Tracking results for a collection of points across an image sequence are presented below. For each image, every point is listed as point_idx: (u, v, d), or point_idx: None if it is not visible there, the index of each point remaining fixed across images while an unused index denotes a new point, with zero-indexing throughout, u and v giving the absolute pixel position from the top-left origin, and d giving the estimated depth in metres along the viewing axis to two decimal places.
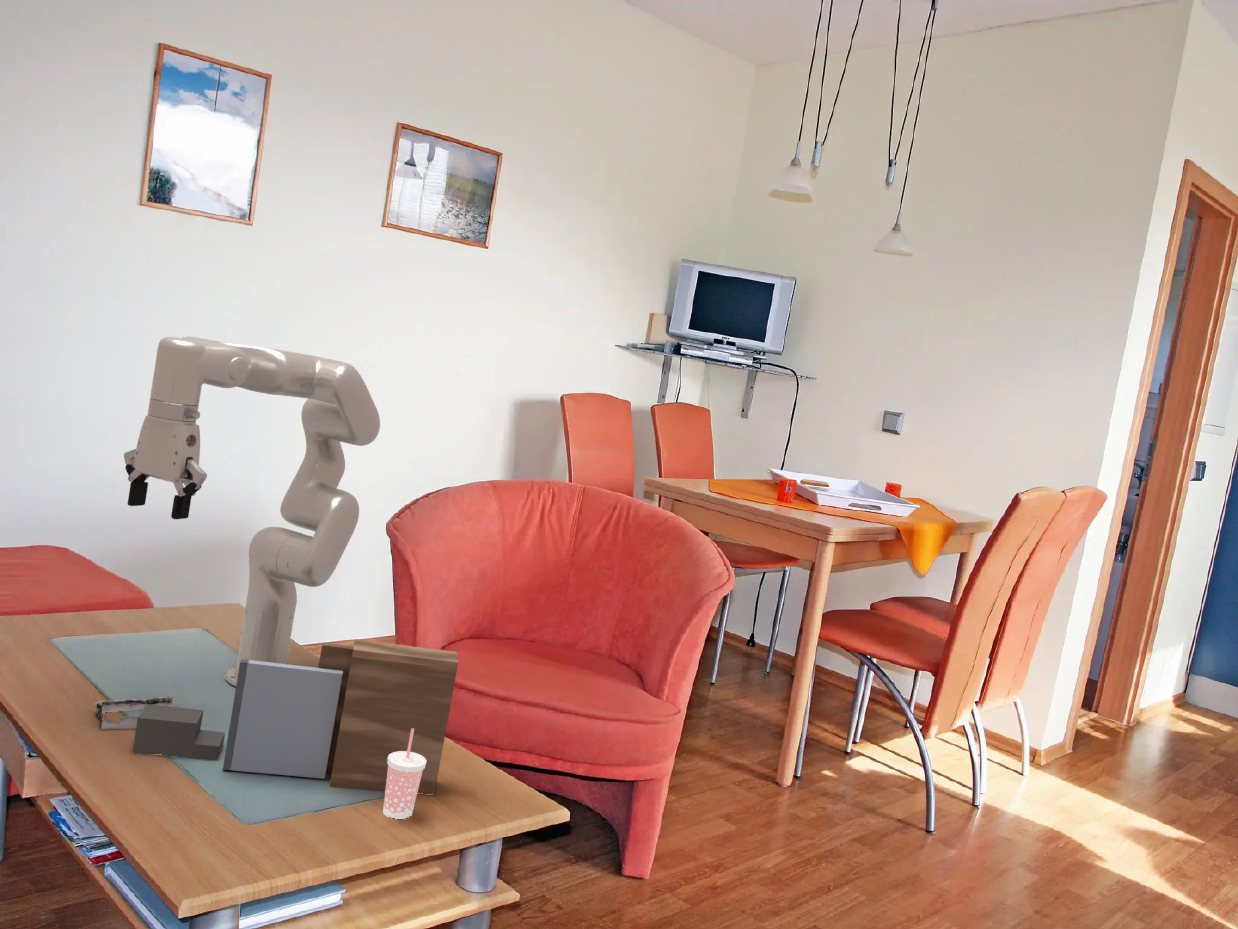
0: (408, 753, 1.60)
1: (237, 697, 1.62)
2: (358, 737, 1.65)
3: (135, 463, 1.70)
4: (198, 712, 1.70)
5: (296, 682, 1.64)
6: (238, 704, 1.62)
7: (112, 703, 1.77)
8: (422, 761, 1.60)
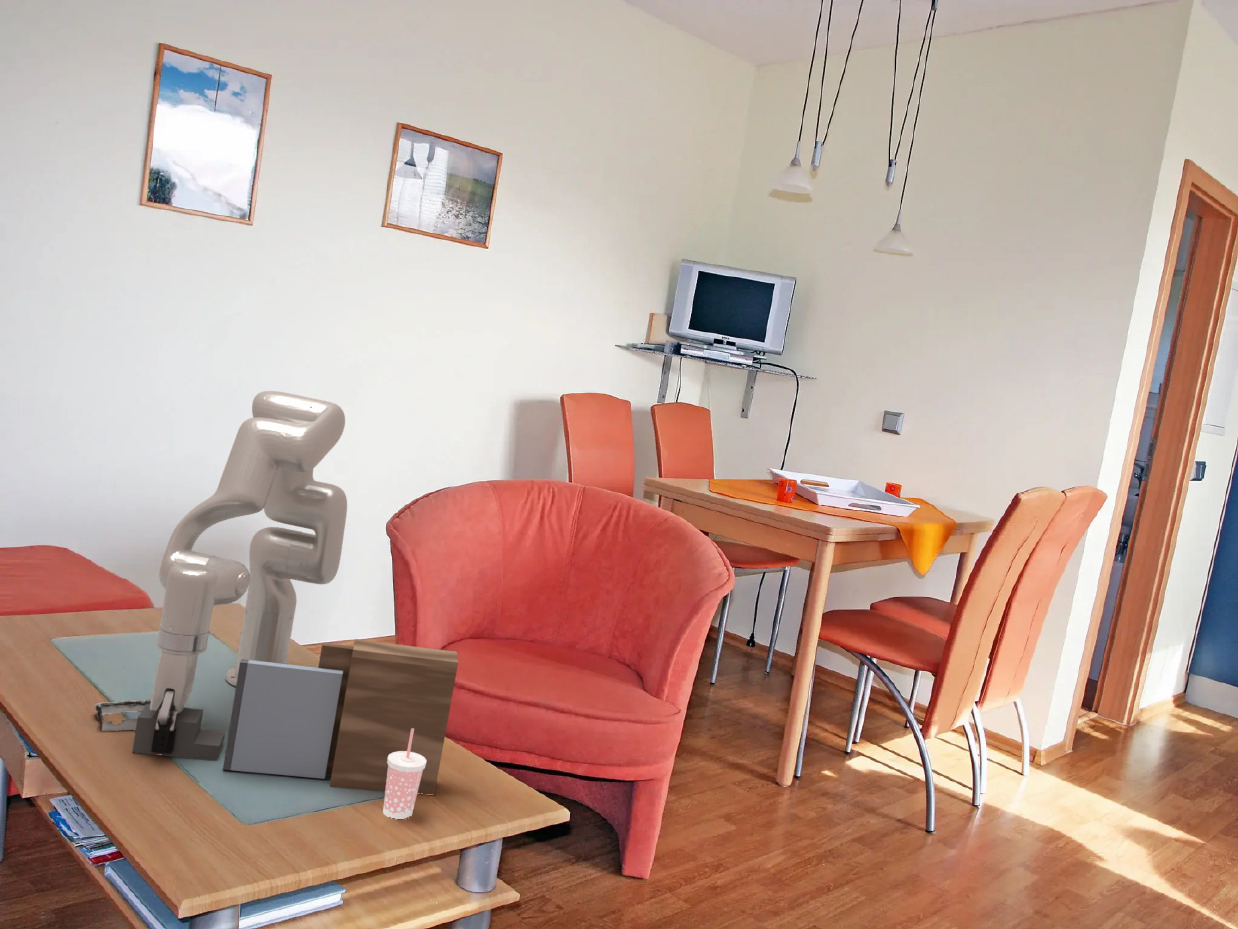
0: (408, 753, 1.60)
1: (237, 697, 1.62)
2: (358, 737, 1.65)
3: (181, 706, 1.63)
4: (198, 712, 1.69)
5: (296, 682, 1.64)
6: (238, 704, 1.62)
7: (111, 705, 1.76)
8: (422, 761, 1.60)
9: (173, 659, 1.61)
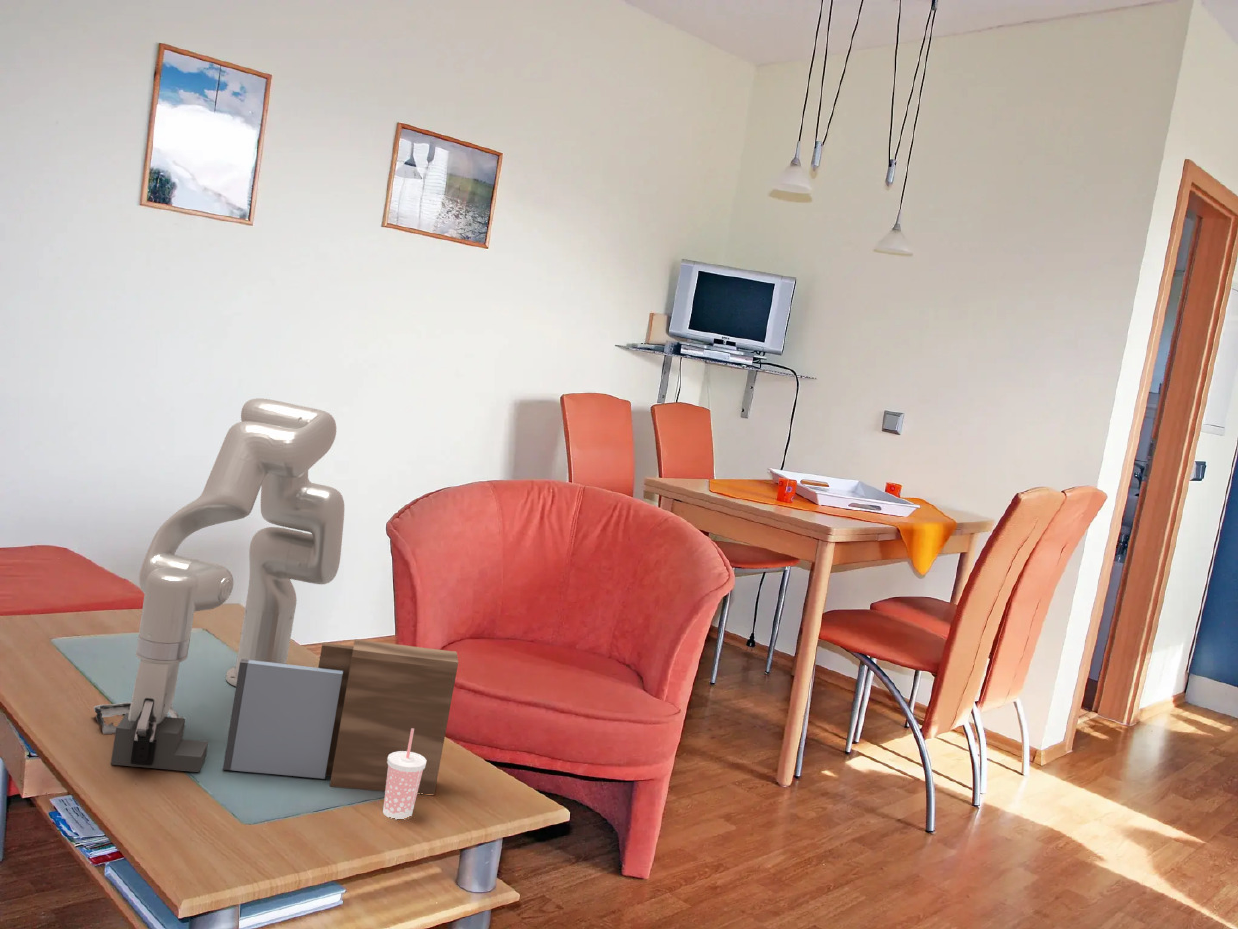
0: (408, 753, 1.60)
1: (237, 697, 1.62)
2: (358, 737, 1.65)
3: (161, 717, 1.57)
4: (180, 721, 1.64)
5: (296, 682, 1.64)
6: (238, 704, 1.62)
7: (110, 707, 1.75)
8: (422, 761, 1.60)
9: (152, 668, 1.55)
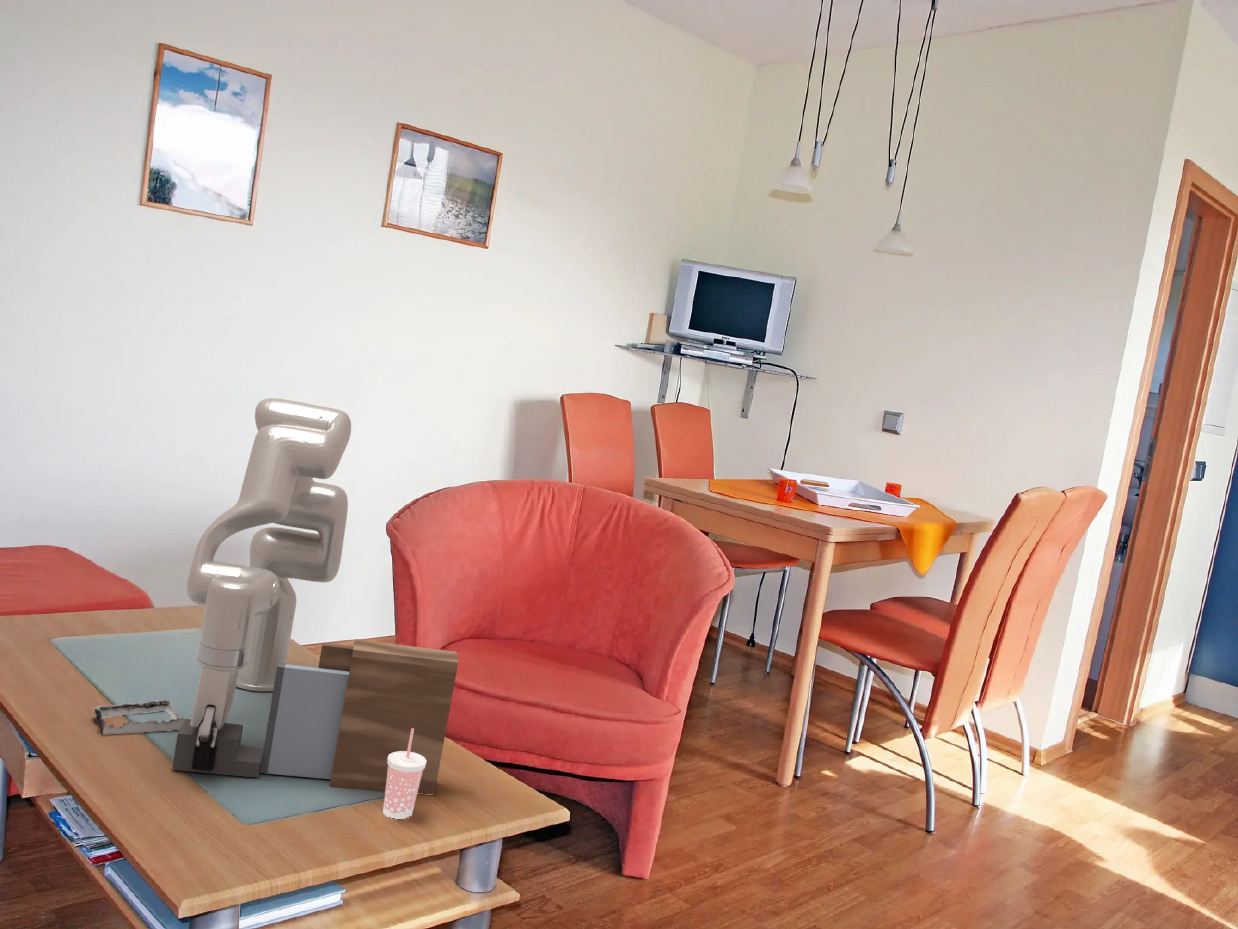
0: (408, 753, 1.60)
1: (274, 701, 1.63)
2: (358, 737, 1.65)
3: (222, 723, 1.59)
4: (238, 727, 1.66)
5: (332, 686, 1.65)
6: (275, 708, 1.64)
7: (110, 708, 1.75)
8: (422, 761, 1.60)
9: (214, 674, 1.58)
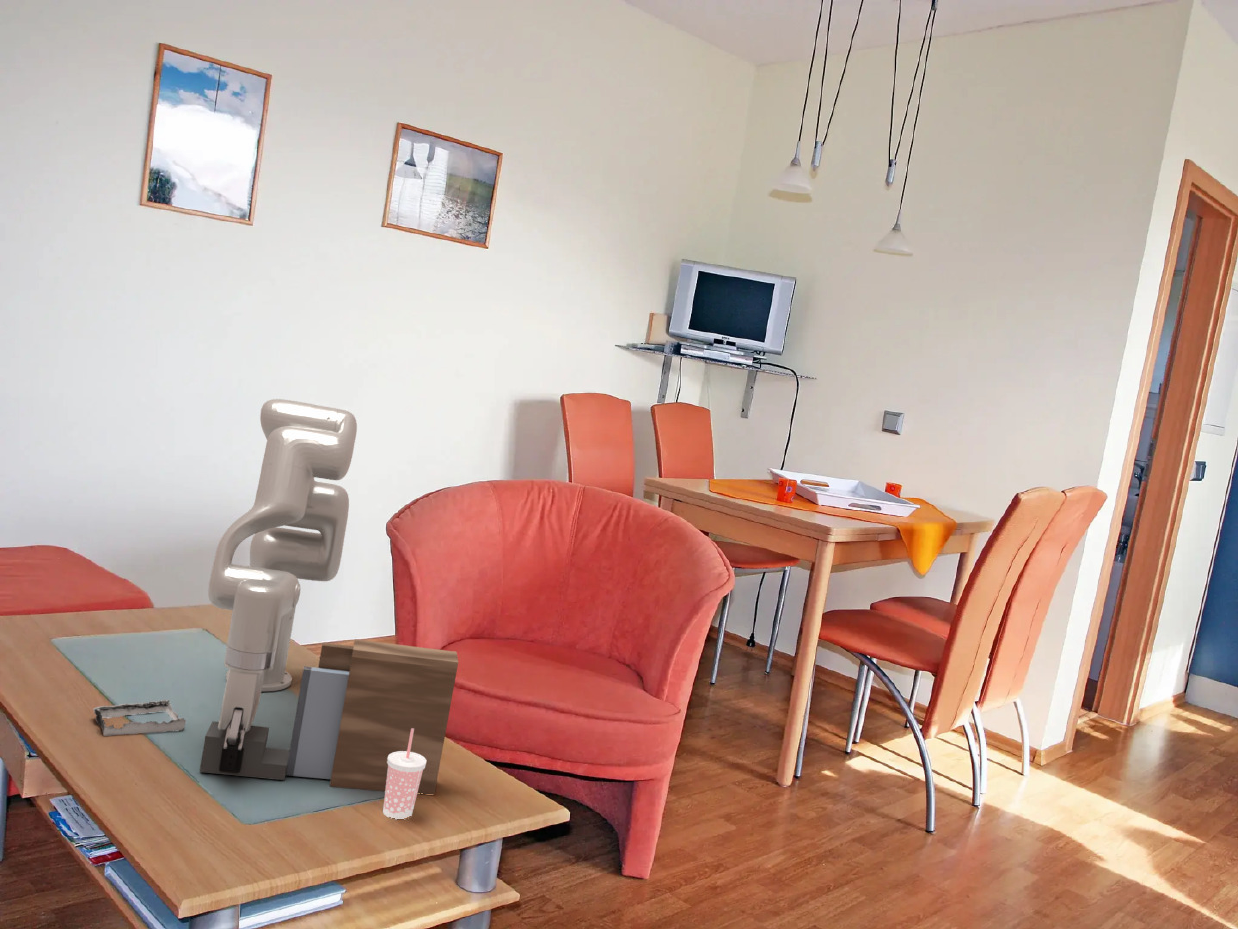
0: (408, 753, 1.60)
1: (300, 704, 1.64)
2: (358, 737, 1.65)
3: (250, 725, 1.60)
4: (264, 730, 1.67)
5: None
6: (301, 711, 1.65)
7: (109, 708, 1.75)
8: (422, 761, 1.60)
9: (241, 677, 1.58)
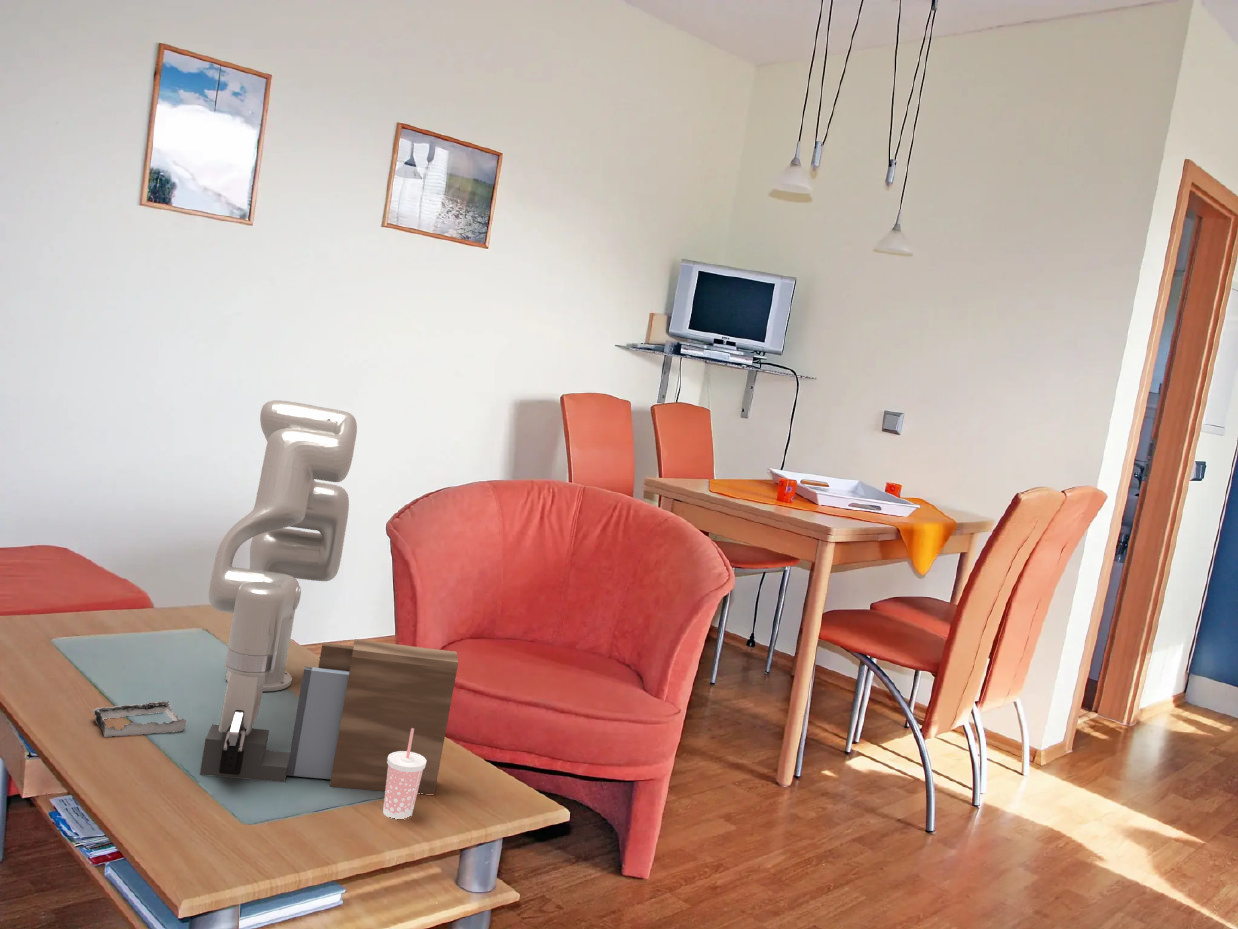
0: (408, 753, 1.60)
1: (301, 704, 1.64)
2: (358, 737, 1.65)
3: (250, 728, 1.60)
4: (264, 732, 1.67)
5: None
6: (302, 711, 1.65)
7: (109, 710, 1.74)
8: (422, 761, 1.60)
9: (242, 680, 1.58)
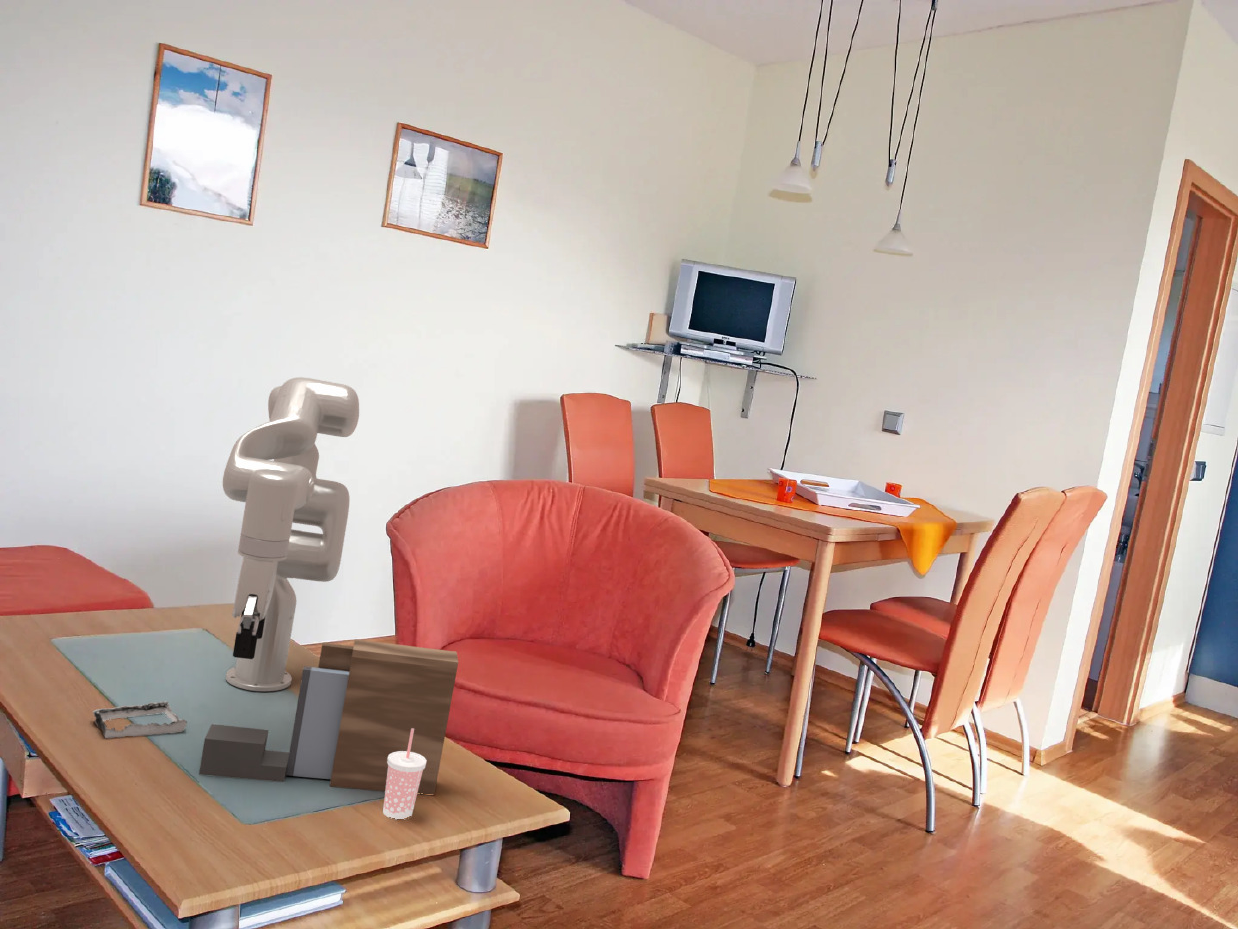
0: (408, 753, 1.60)
1: (300, 704, 1.64)
2: (358, 737, 1.65)
3: (264, 613, 1.61)
4: (264, 732, 1.67)
5: None
6: (301, 711, 1.65)
7: (109, 711, 1.74)
8: (422, 761, 1.60)
9: (256, 564, 1.59)
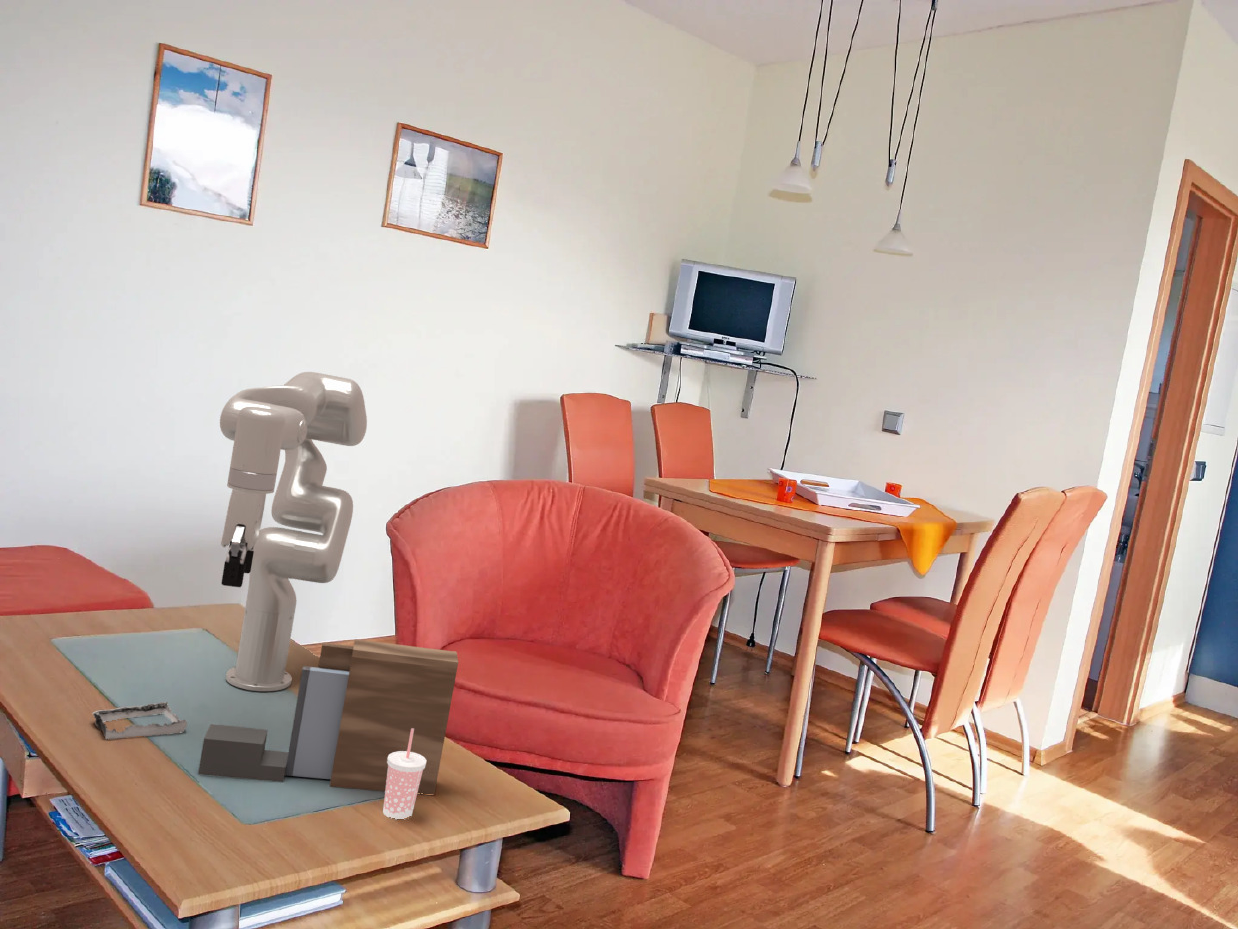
0: (408, 753, 1.60)
1: (299, 704, 1.64)
2: (358, 737, 1.65)
3: (251, 543, 1.68)
4: (263, 732, 1.67)
5: None
6: (300, 711, 1.65)
7: (109, 712, 1.73)
8: (422, 761, 1.60)
9: (244, 495, 1.66)
